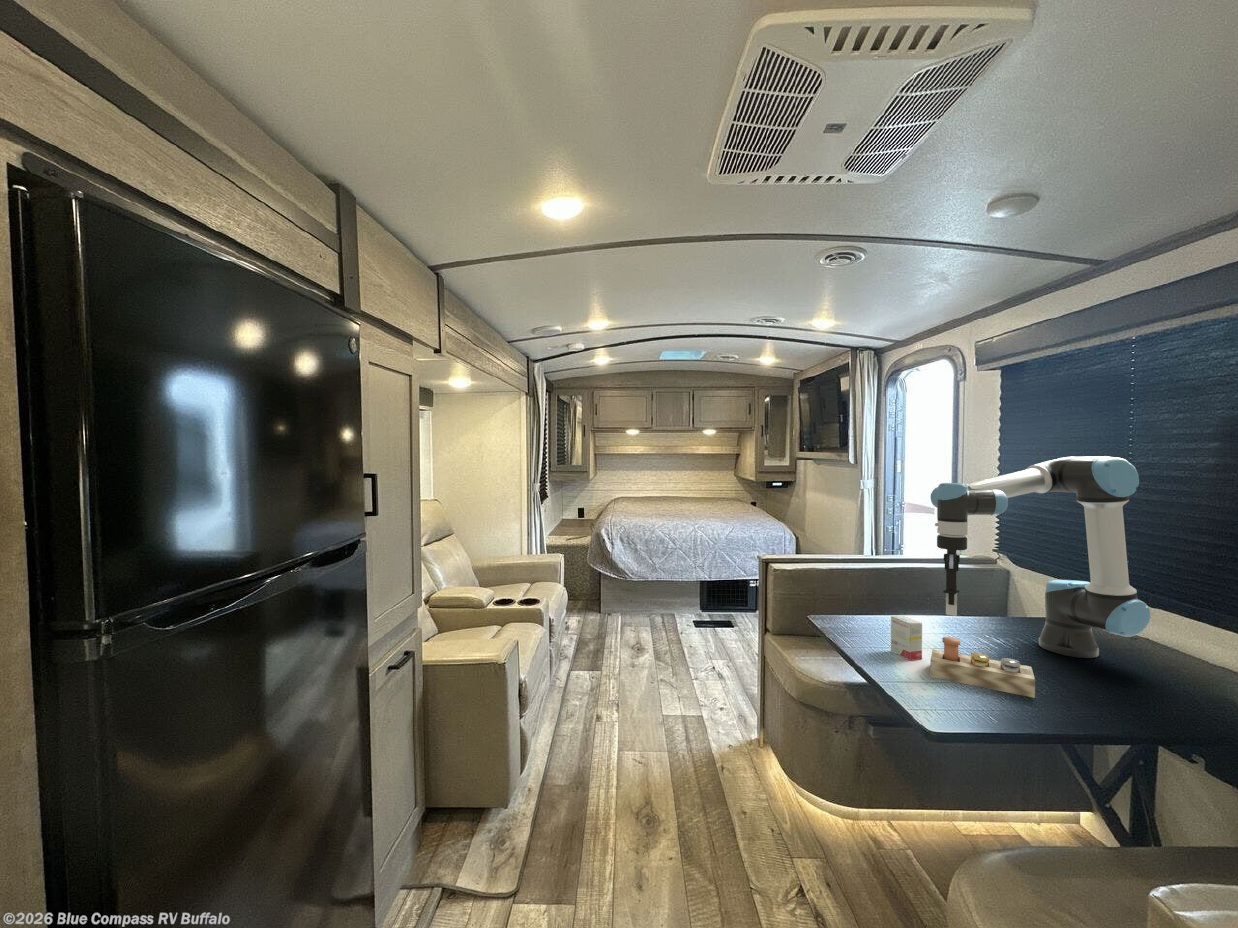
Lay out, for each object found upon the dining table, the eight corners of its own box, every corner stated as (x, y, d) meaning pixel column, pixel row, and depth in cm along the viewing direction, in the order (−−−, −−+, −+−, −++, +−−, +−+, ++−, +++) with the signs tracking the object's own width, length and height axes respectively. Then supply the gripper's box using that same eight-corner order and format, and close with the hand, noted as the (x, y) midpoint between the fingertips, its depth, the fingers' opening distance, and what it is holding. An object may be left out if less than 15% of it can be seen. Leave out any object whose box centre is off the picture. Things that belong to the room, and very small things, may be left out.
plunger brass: (989, 677, 150) (989, 654, 150) (989, 682, 146) (989, 659, 146) (970, 673, 152) (970, 651, 152) (970, 678, 149) (970, 656, 148)
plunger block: (1031, 684, 147) (1031, 666, 146) (1034, 697, 138) (1035, 679, 138) (932, 665, 160) (932, 649, 160) (930, 676, 152) (930, 659, 152)
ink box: (923, 659, 165) (923, 622, 165) (910, 660, 164) (910, 623, 163) (902, 649, 173) (902, 614, 173) (890, 650, 172) (890, 615, 172)
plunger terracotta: (960, 660, 154) (960, 638, 153) (959, 665, 150) (960, 643, 150) (942, 657, 156) (942, 635, 156) (942, 662, 152) (942, 640, 152)
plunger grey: (1019, 682, 146) (1019, 660, 146) (1020, 688, 142) (1021, 665, 142) (1000, 679, 148) (1000, 656, 148) (1001, 684, 145) (1001, 661, 145)
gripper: (938, 531, 160) (937, 607, 160) (935, 537, 149) (935, 618, 149) (967, 533, 156) (966, 611, 156) (967, 539, 145) (966, 622, 145)
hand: (951, 614), depth 153 cm, fingers closed
